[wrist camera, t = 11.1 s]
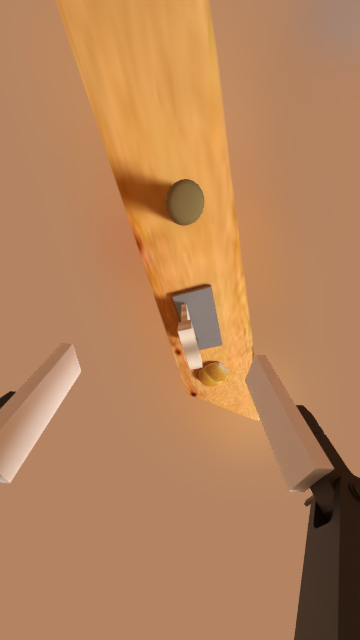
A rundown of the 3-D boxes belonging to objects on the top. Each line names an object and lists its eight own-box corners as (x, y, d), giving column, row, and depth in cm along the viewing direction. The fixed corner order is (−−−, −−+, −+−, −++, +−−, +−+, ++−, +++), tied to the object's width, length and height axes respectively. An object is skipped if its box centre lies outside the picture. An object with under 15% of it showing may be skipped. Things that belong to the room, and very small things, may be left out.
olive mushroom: (185, 232, 34) (187, 238, 25) (161, 208, 32) (152, 205, 23) (207, 204, 32) (218, 199, 22) (182, 177, 30) (183, 158, 20)
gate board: (172, 294, 41) (172, 297, 39) (210, 284, 39) (211, 287, 38) (189, 348, 49) (190, 351, 48) (221, 341, 48) (222, 345, 47)
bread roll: (193, 372, 55) (194, 383, 51) (214, 357, 51) (217, 367, 48) (210, 384, 57) (212, 395, 54) (232, 370, 54) (235, 381, 51)
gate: (199, 342, 45) (204, 373, 36) (190, 344, 46) (192, 375, 37) (189, 302, 40) (191, 328, 31) (178, 305, 40) (177, 331, 31)
